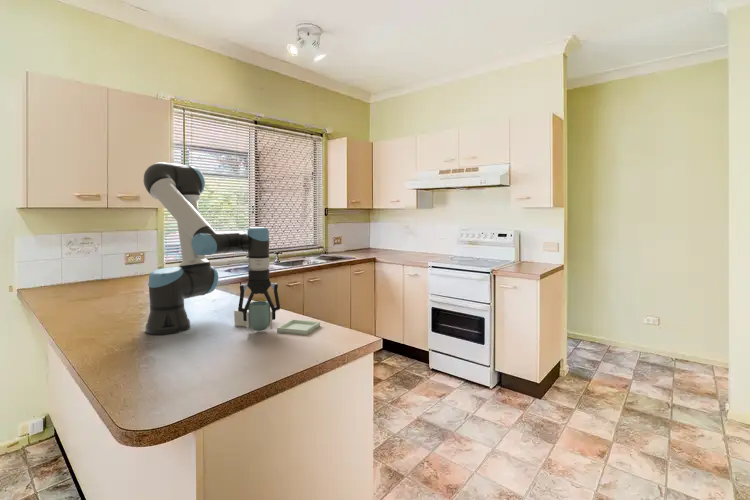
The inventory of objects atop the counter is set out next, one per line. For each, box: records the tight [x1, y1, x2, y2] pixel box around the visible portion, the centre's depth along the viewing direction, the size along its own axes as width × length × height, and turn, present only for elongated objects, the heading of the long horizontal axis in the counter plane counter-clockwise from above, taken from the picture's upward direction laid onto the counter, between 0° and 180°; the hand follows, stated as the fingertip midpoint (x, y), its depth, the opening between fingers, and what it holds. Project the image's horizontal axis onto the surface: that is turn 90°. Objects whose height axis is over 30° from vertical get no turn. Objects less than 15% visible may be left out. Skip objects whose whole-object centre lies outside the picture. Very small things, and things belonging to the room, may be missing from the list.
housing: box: [233, 306, 251, 328], centre depth 160 cm, size 10×10×6 cm
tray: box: [276, 318, 321, 336], centre depth 152 cm, size 12×12×2 cm
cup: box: [249, 300, 271, 332], centre depth 147 cm, size 8×8×10 cm
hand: (259, 328), depth 148 cm, fingers closed on cup, 8 cm apart
